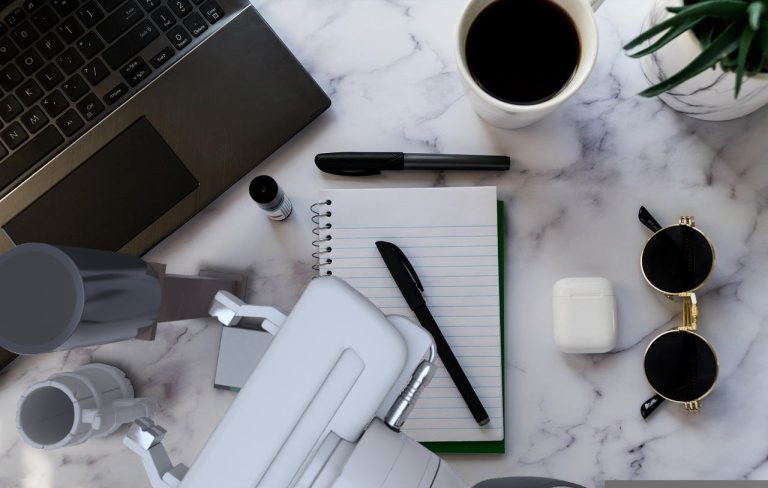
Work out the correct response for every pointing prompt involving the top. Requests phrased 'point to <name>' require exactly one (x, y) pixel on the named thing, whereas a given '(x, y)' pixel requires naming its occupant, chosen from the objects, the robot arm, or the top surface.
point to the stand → (191, 295)
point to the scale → (239, 354)
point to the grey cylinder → (73, 298)
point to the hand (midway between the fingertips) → (173, 363)
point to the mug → (79, 407)
